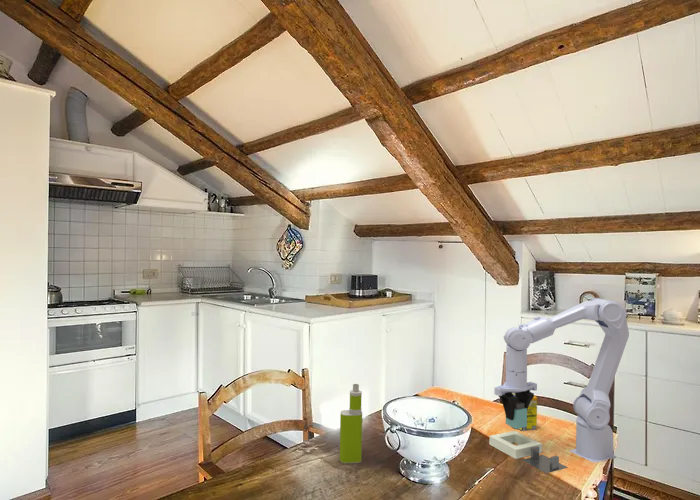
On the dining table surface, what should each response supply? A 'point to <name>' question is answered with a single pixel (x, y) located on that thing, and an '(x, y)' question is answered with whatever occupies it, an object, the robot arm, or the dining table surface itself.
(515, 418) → the plug
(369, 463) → the dining table surface
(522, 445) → the port
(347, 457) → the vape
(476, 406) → the dining table surface
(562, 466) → the grey socket plate
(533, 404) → the supplement box
